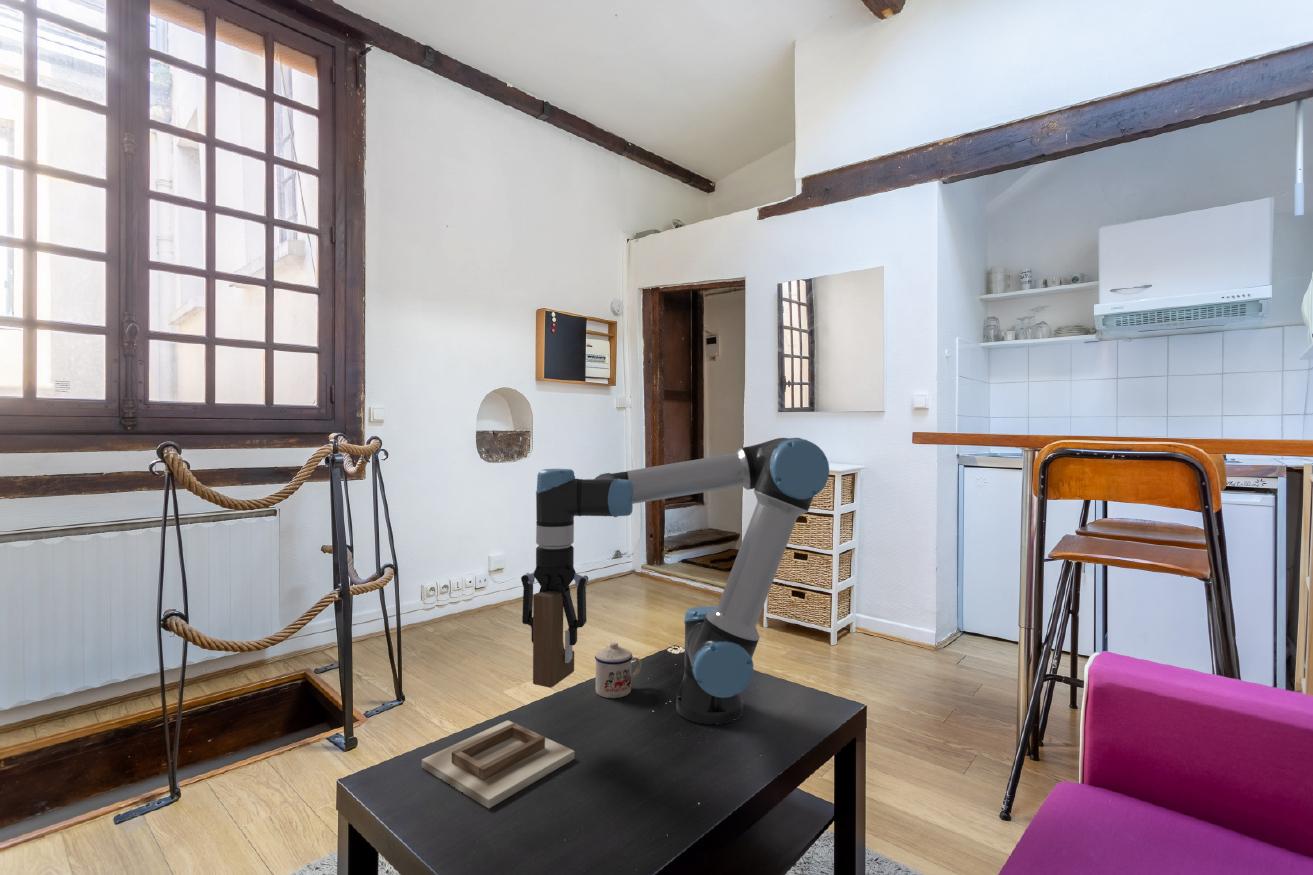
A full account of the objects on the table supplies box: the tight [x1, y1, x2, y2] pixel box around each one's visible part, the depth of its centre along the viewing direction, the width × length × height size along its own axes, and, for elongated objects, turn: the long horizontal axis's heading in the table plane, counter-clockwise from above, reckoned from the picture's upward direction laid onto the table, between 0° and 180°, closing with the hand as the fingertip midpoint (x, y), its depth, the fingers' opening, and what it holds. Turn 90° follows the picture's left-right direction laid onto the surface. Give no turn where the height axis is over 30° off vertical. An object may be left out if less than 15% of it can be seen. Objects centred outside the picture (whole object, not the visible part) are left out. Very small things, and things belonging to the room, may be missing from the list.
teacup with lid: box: [594, 641, 642, 699], centre depth 150 cm, size 12×9×12 cm
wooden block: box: [532, 591, 575, 689], centre depth 124 cm, size 9×4×18 cm, turn 157°
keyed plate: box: [421, 719, 576, 810], centre depth 116 cm, size 20×20×4 cm
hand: (554, 659), depth 124 cm, fingers closed on wooden block, 5 cm apart
